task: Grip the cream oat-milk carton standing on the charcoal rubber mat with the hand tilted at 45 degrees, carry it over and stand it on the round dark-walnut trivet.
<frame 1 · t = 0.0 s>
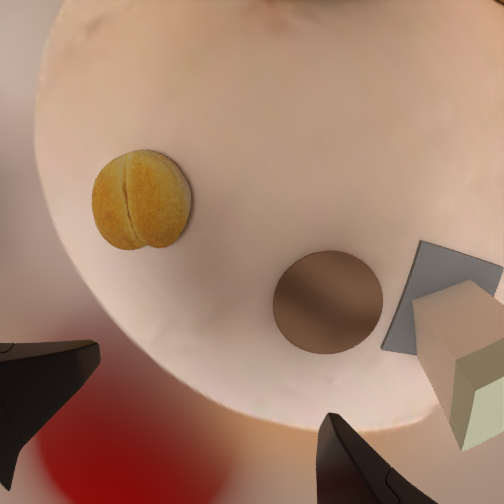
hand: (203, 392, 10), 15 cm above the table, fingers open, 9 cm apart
mat: (446, 307, 22), on the table
carton: (444, 319, 21), resting on mat
bread roll: (145, 200, 24), on the table
trivet: (328, 304, 23), on the table
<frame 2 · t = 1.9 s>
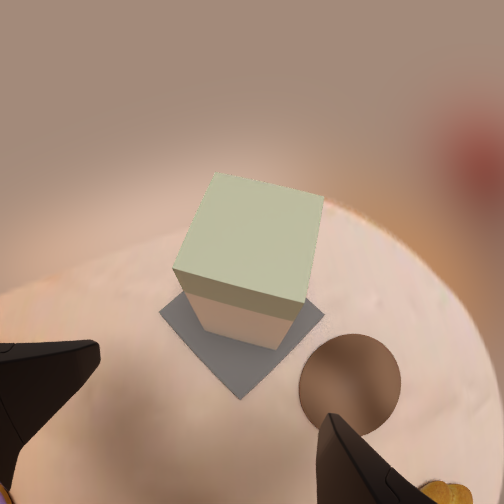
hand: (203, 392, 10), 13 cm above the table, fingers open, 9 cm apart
mat: (241, 316, 25), on the table
carton: (249, 307, 25), resting on mat
trivet: (351, 386, 22), on the table
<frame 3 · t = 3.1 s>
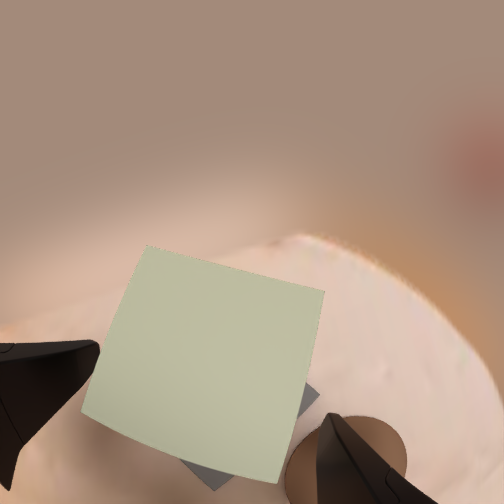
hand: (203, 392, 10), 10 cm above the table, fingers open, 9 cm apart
mat: (215, 396, 18), on the table
carton: (225, 386, 18), resting on mat
trivet: (348, 473, 15), on the table
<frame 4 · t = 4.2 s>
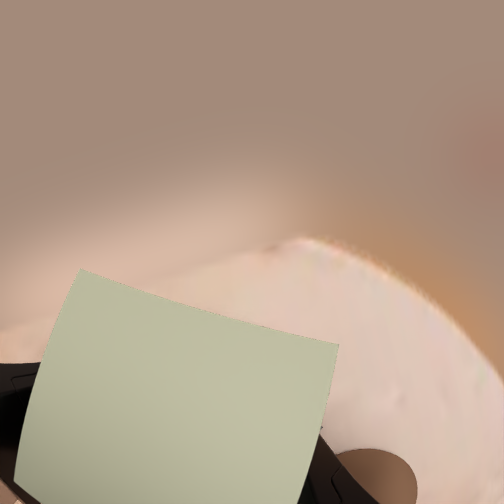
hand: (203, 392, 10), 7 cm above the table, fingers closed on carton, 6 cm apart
carton: (212, 418, 15), resting on mat, touching gripper
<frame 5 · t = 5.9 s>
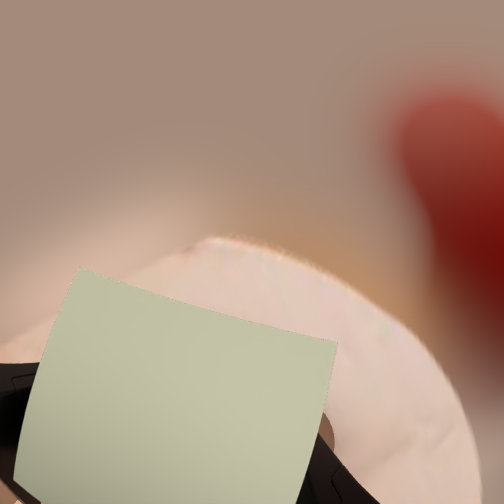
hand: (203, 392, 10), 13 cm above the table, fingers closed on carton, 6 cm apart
carton: (212, 417, 15), point 7 cm above the table, touching gripper
trivet: (276, 445, 19), on the table
when the fingers open (9 cm above the table, at t = 7.6 s): carton drops 1 cm, resting on trivet.
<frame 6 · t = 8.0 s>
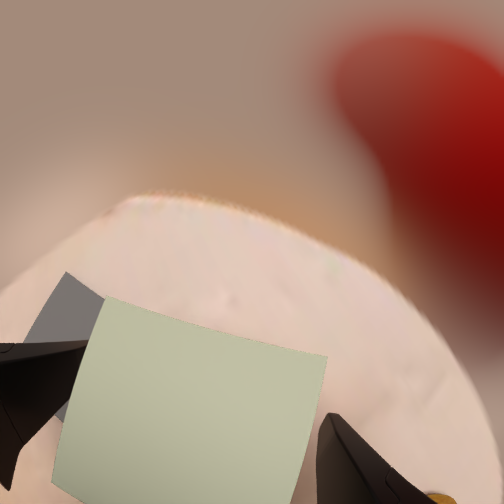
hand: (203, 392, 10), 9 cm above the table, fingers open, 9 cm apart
mat: (75, 355, 18), on the table
carton: (218, 418, 16), point 1 cm above the table, touching trivet
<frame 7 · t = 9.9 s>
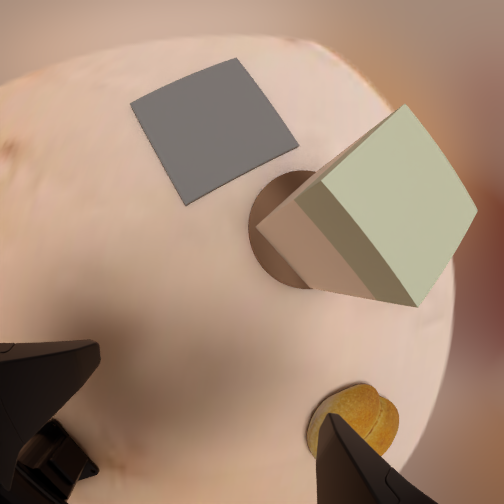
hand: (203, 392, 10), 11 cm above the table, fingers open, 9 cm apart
mat: (212, 122, 22), on the table
carton: (311, 230, 22), point 1 cm above the table, touching trivet
bread roll: (348, 423, 23), on the table
trivet: (306, 229, 22), on the table
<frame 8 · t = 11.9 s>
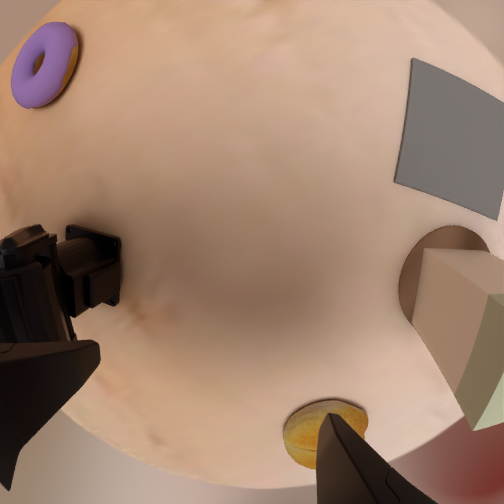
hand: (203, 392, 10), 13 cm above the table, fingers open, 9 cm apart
mat: (461, 139, 17), on the table
donut: (55, 67, 21), on the table
carton: (450, 286, 19), point 1 cm above the table, touching trivet
bread roll: (326, 426, 25), on the table
trivet: (448, 281, 19), on the table
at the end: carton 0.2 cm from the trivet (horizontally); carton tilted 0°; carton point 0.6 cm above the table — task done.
